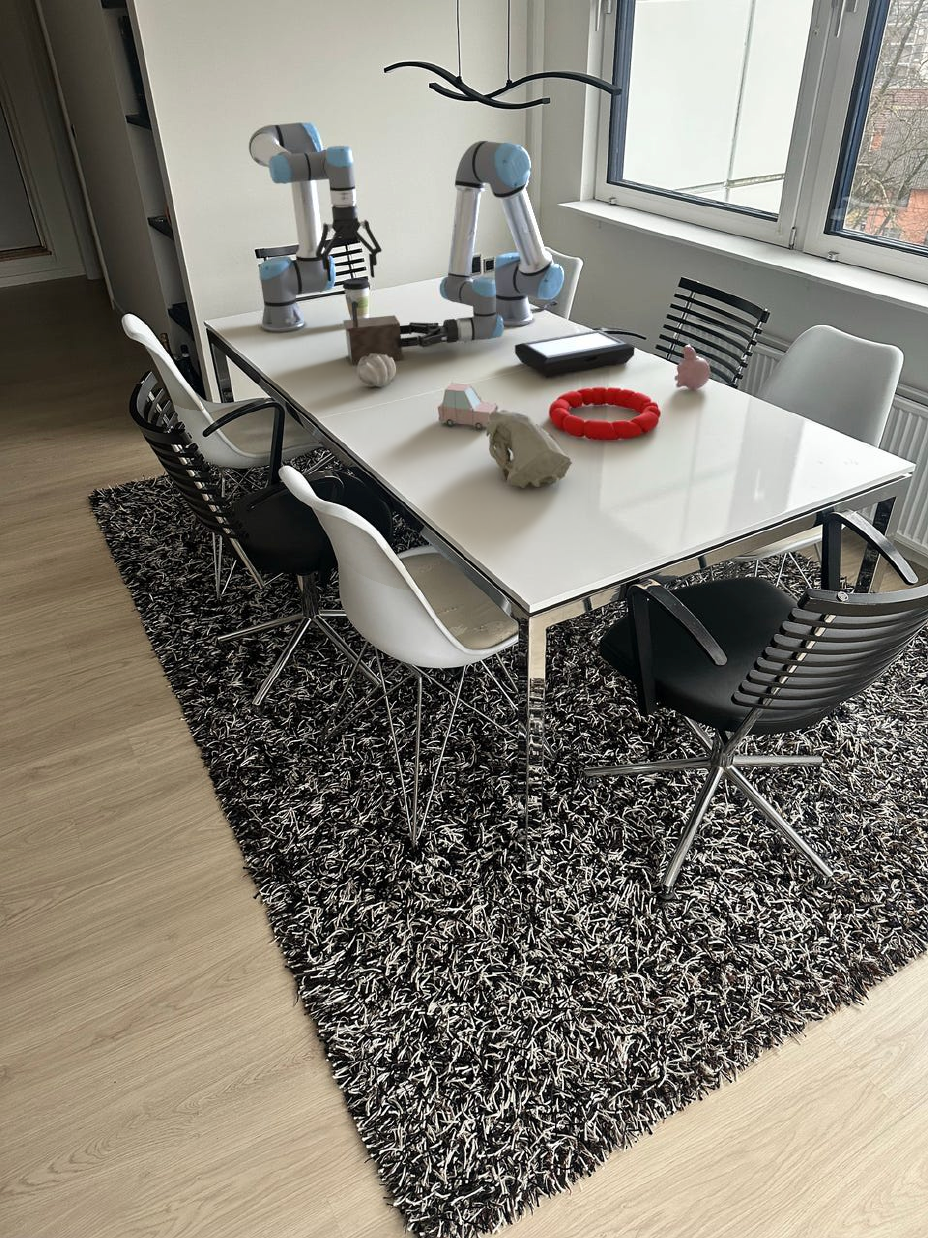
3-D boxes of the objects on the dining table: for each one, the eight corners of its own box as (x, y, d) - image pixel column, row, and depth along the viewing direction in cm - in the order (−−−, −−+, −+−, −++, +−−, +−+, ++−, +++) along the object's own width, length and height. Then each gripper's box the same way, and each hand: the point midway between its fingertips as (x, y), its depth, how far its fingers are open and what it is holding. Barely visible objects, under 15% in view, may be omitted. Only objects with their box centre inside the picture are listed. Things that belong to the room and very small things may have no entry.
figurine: (665, 387, 264) (669, 347, 257) (693, 380, 268) (698, 340, 261) (686, 396, 257) (690, 355, 250) (714, 388, 262) (720, 348, 255)
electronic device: (544, 360, 268) (515, 342, 283) (544, 380, 271) (514, 361, 286) (634, 344, 278) (601, 327, 293) (633, 363, 282) (600, 346, 297)
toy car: (488, 432, 240) (488, 396, 234) (436, 426, 244) (434, 390, 239) (499, 419, 247) (499, 384, 241) (448, 413, 252) (447, 379, 246)
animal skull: (496, 517, 219) (521, 479, 201) (463, 429, 225) (484, 384, 207) (557, 503, 225) (586, 465, 206) (523, 417, 231) (549, 373, 212)
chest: (352, 365, 289) (348, 331, 283) (348, 356, 297) (345, 323, 291) (402, 359, 292) (400, 326, 286) (397, 350, 300) (394, 318, 294)
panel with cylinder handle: (347, 331, 283) (344, 303, 278) (343, 323, 290) (340, 295, 285) (400, 326, 286) (398, 297, 281) (394, 318, 294) (392, 290, 288)
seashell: (349, 385, 273) (346, 353, 267) (393, 376, 278) (391, 344, 273) (363, 395, 265) (359, 362, 260) (408, 385, 271) (405, 353, 265)
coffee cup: (372, 326, 323) (368, 283, 314) (345, 327, 323) (340, 284, 315) (374, 318, 331) (371, 276, 322) (348, 319, 331) (344, 277, 323)
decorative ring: (589, 435, 224) (684, 402, 234) (527, 398, 247) (617, 369, 256) (589, 461, 229) (683, 427, 238) (529, 422, 251) (617, 393, 260)
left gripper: (303, 209, 261) (312, 284, 274) (387, 203, 266) (392, 277, 278) (301, 205, 268) (310, 278, 280) (382, 199, 272) (388, 271, 284)
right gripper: (466, 353, 288) (401, 360, 284) (448, 331, 308) (388, 337, 304) (465, 329, 284) (400, 336, 280) (447, 308, 304) (386, 315, 300)
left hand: (351, 278), depth 279 cm, fingers open, 13 cm apart
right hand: (393, 336), depth 292 cm, fingers open, 13 cm apart
